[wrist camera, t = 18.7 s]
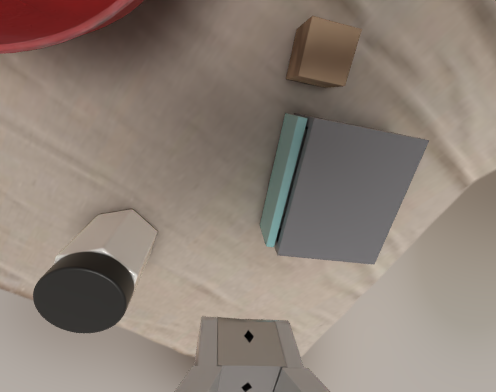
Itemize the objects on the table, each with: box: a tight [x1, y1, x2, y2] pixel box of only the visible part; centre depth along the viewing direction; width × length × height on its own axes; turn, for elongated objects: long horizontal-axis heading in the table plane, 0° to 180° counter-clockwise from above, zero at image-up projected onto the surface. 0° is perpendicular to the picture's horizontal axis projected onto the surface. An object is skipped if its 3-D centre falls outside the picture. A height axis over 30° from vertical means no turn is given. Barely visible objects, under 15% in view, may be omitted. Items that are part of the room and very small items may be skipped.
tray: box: [260, 113, 308, 247], centre depth 31 cm, size 16×13×5 cm
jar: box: [33, 209, 157, 333], centre depth 29 cm, size 9×8×12 cm
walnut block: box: [286, 16, 362, 88], centre depth 26 cm, size 5×5×5 cm
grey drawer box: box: [274, 113, 429, 264], centre depth 31 cm, size 16×13×7 cm
